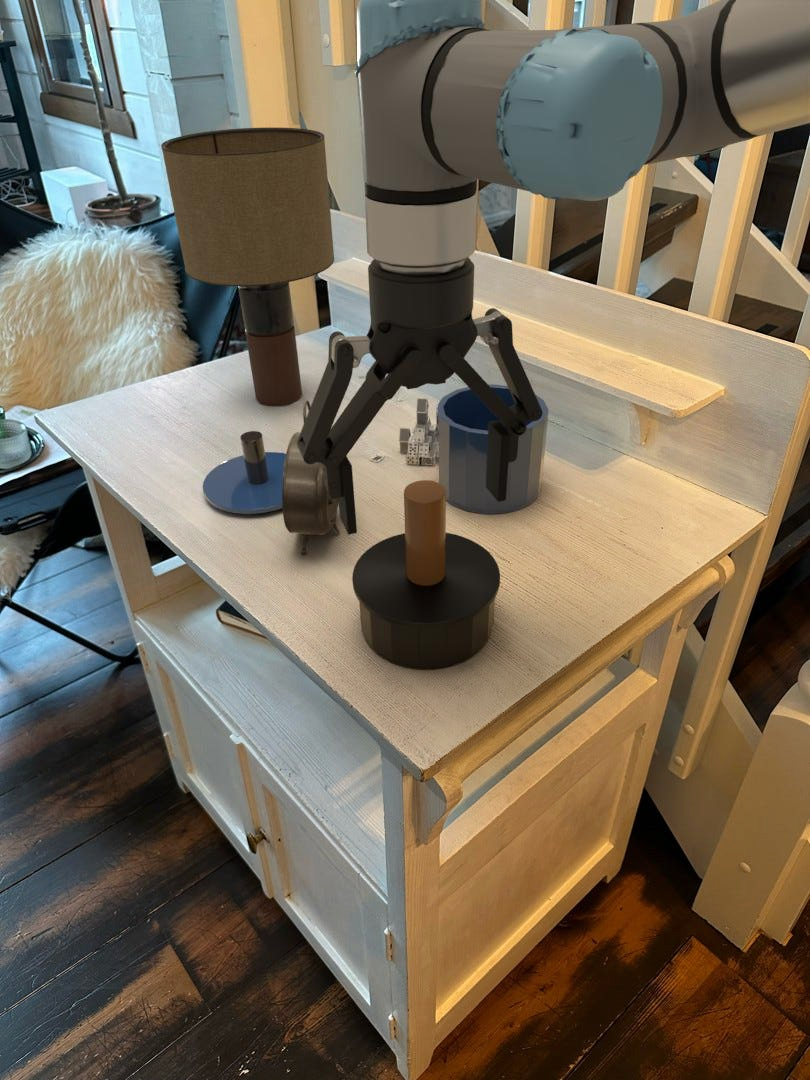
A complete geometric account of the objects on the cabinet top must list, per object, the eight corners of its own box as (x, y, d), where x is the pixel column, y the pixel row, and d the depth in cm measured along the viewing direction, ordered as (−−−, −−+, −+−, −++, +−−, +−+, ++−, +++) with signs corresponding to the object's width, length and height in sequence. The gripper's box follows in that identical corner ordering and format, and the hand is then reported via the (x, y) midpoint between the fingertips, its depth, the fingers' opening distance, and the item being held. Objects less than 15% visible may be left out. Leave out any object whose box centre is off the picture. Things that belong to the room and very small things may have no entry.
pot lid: (337, 482, 95) (332, 431, 90) (252, 531, 87) (242, 478, 82) (265, 449, 102) (258, 400, 98) (182, 492, 94) (169, 440, 90)
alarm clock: (306, 505, 91) (291, 378, 81) (351, 506, 90) (340, 379, 81) (286, 561, 82) (266, 426, 72) (335, 562, 81) (321, 427, 72)
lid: (528, 576, 71) (536, 484, 65) (436, 657, 63) (436, 559, 57) (417, 524, 78) (415, 437, 72) (322, 590, 70) (311, 498, 64)
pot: (560, 481, 93) (568, 403, 87) (501, 526, 86) (505, 445, 80) (477, 449, 100) (480, 375, 94) (416, 489, 93) (414, 412, 87)
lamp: (306, 359, 127) (280, 122, 106) (369, 401, 113) (353, 139, 92) (191, 390, 118) (139, 139, 97) (245, 440, 104) (196, 160, 84)
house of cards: (383, 429, 106) (380, 378, 101) (445, 433, 104) (445, 382, 100) (368, 462, 98) (365, 408, 94) (434, 467, 97) (434, 412, 92)
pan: (517, 616, 74) (521, 572, 70) (436, 691, 66) (436, 645, 63) (418, 566, 81) (418, 523, 77) (334, 629, 73) (329, 585, 70)
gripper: (554, 226, 59) (533, 461, 72) (234, 265, 53) (273, 515, 65) (605, 251, 53) (573, 502, 66) (253, 298, 47) (291, 565, 60)
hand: (423, 509), depth 66 cm, fingers open, 13 cm apart
